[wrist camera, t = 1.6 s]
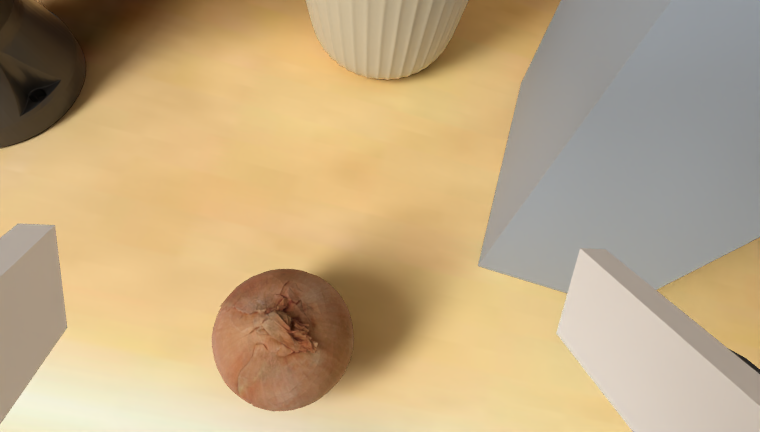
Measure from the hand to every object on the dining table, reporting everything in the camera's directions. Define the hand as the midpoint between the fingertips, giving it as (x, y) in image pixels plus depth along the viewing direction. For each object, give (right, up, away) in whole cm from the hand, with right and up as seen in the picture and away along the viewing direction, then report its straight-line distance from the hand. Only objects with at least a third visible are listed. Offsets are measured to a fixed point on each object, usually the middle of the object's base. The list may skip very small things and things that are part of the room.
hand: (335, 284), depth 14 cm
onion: (-6, -9, +27) cm, 29 cm away
